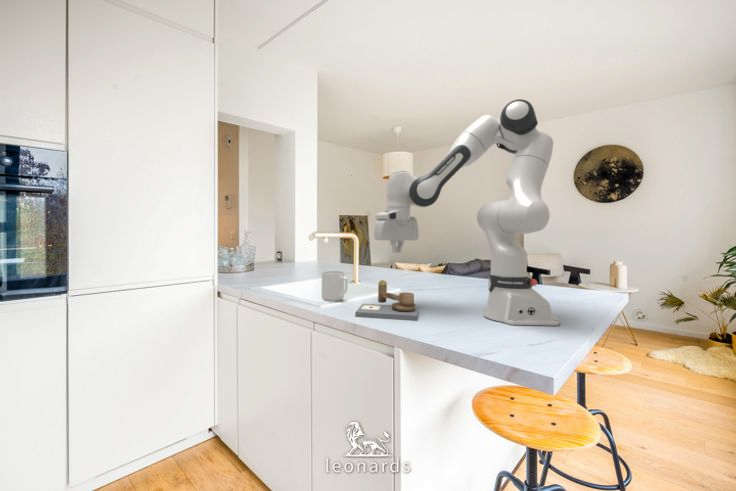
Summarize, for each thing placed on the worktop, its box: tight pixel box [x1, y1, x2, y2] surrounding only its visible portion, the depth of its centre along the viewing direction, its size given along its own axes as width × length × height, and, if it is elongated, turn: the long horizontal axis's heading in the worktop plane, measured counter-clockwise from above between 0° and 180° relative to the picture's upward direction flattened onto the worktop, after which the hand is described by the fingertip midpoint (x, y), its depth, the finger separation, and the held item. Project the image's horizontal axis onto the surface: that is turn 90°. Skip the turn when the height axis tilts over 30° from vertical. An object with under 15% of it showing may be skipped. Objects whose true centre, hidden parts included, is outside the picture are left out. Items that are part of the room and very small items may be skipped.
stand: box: [354, 303, 420, 321], centre depth 117 cm, size 20×13×2 cm, turn 80°
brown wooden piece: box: [377, 279, 417, 311], centre depth 121 cm, size 16×8×8 cm, turn 40°
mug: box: [321, 270, 349, 303], centre depth 137 cm, size 12×9×11 cm
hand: (396, 252), depth 130 cm, fingers closed
